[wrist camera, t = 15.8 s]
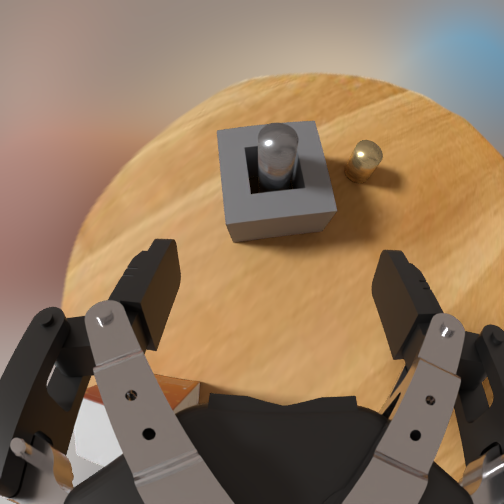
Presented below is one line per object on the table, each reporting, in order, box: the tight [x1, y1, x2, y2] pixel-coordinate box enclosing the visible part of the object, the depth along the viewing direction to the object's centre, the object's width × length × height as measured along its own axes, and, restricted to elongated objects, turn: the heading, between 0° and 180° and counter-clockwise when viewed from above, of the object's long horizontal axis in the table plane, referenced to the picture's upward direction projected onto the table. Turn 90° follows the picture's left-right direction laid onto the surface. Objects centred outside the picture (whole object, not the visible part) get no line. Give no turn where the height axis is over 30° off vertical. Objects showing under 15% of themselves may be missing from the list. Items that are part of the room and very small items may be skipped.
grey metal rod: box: [258, 123, 299, 193], centre depth 28 cm, size 3×3×12 cm
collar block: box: [217, 121, 337, 242], centre depth 30 cm, size 10×10×7 cm
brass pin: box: [345, 140, 383, 183], centre depth 31 cm, size 3×3×5 cm
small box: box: [74, 374, 200, 467], centre depth 23 cm, size 8×6×13 cm
